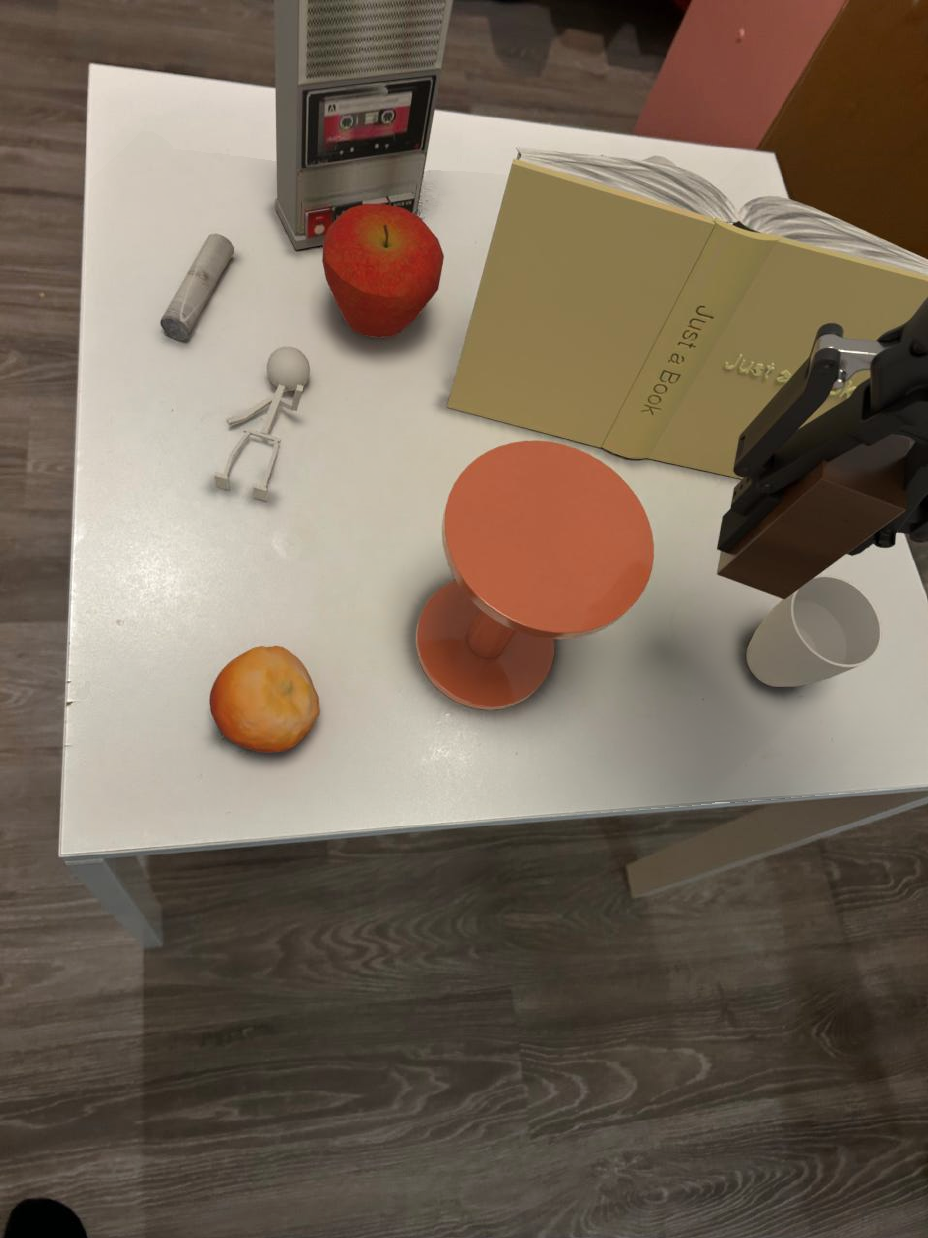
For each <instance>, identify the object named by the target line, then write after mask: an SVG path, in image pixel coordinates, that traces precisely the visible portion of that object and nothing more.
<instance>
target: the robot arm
mask: <svg viewBox="0 0 928 1238" xmlns="http://www.w3.org/2000/svg"><path fill="white" fill-rule="evenodd" d="M843 332H844V330H843V328H842V326H840V325H839V324H836V323H827V324H824V325H823V326H821V327H820V328H819V329H818V331H817V334H816V337H815V340H814V343H813V346H812V349H811V352H810V356H809V357H808V359H807V360H806V361H805V362H804V363H803V364H802V365H801V367H800V368H799V369H798V370H797V371H796V372H795V373H794V375H793V376H792V377H791V378H790V379H789V380H788V381H787V382H786V384H785V385H784V386H783V387H782V388H781V389H780V390H779V392H778V393H777V394H776V395H775V396H774V397H773V398H772V399H771V401H770V402H769V403H768V404H767V405H766V406H765V407H764V409H763V410H762V411H761V412H760V413H759V414H758V415H757V416H756V418H755V419H754V420H753V421H752V422H751V423H750V424H749V426H748V427H747V428H746V429H745V430H744V431H743V432H742V433H741V435H740V436H739V440H738V445H737V451H736V456H735V462H734V467H733V472H734V473H735V475H737V476H739V477H744V478H743V479H740V480H739V482H738V483H737V484H736V485H735V486H734V487H733V491H732V496H731V500H730V501H731V502H730V507H729V509H728V510H727V511H726V512H725V513H724V514H723V515H722V520H721V524H720V529H719V535H718V540H717V546H716V550H717V551H720V552H721V551H723V552H725V553H728V552H729V551H730V550H731V549H732V548H733V547H734V546H735V545H736V544H737V543H738V542H739V541H740V540H742V539H743V538H744V537H745V536H746V535H747V534H748V533H749V532H750V531H751V530H752V529H753V528H754V527H755V526H756V525H758V524H759V523H760V522H761V521H762V520H763V519H764V518H765V517H766V516H767V515H768V514H769V513H770V512H771V511H772V510H773V509H775V508H776V507H777V506H778V505H779V504H780V503H781V496H782V489H783V487H785V486H787V485H788V484H790V483H792V482H794V481H796V480H797V479H799V478H801V477H803V476H805V475H806V474H808V473H810V472H812V471H813V470H814V469H815V468H816V467H817V466H818V465H819V464H820V463H822V462H823V461H828V462H830V461H831V460H833V459H835V458H837V457H839V456H840V455H842V454H844V453H846V452H848V451H849V450H851V449H853V448H855V447H857V446H858V445H860V444H862V443H863V444H865V445H866V446H871V445H873V444H875V443H877V442H878V441H880V440H882V439H884V438H886V437H888V436H889V435H891V434H896V435H900V436H902V437H906V438H909V439H910V440H912V441H914V442H913V444H912V445H911V446H910V450H909V451H908V453H907V454H906V456H905V471H904V486H903V490H905V491H907V502H906V510H905V511H904V512H903V513H902V514H900V515H899V516H897V517H896V518H895V519H893V520H892V521H891V522H889V523H888V524H887V525H885V526H884V527H882V528H881V529H880V530H878V531H877V532H876V533H874V534H873V535H872V536H870V537H869V538H868V539H866V540H865V541H863V542H862V543H861V544H859V545H858V546H857V547H855V548H854V549H853V550H851V551H850V552H849V553H847V554H846V555H848V556H850V557H853V556H857V555H860V554H862V553H863V552H865V550H867V549H868V548H870V547H871V546H872V545H874V547H877V548H881V549H889V548H892V547H894V546H896V543H897V541H896V540H897V534H906V535H909V536H908V538H909V540H910V541H912V542H914V543H921V544H922V543H923V544H924V543H927V542H928V297H927V298H926V299H925V301H924V302H923V303H922V304H921V306H920V307H919V309H918V310H917V311H916V313H915V314H914V315H913V316H912V318H911V319H910V320H908V321H907V322H906V323H904V324H902V325H901V326H899V327H897V328H894V329H892V330H890V331H887V332H886V333H884V334H883V335H881V336H880V337H879V338H878V339H877V340H876V341H871V340H861V339H851V338H843ZM862 370H870V378H868V379H867V380H865V381H864V382H862V383H861V384H859V385H858V386H857V387H856V388H855V389H854V391H853V393H852V395H851V396H850V397H849V398H847V399H846V400H844V401H842V402H841V403H839V404H838V405H836V406H834V407H833V408H831V409H830V410H828V411H826V412H825V413H823V414H822V415H820V416H818V417H817V418H815V419H814V420H812V421H811V422H809V423H807V424H806V425H804V426H803V427H801V426H802V425H803V424H804V423H805V422H806V421H807V420H808V419H809V418H810V417H811V415H812V414H813V413H814V412H815V411H816V410H817V409H818V408H819V407H820V406H821V405H822V404H823V403H824V402H825V400H826V399H827V397H828V396H829V394H830V392H831V390H832V388H833V389H841V388H843V387H844V385H845V382H846V381H848V380H849V379H850V378H851V377H852V376H853V375H854V374H855V373H857V372H859V371H862ZM800 427H801V428H800Z"/></svg>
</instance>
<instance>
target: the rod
mask: <svg viewBox="0 0 928 1238" xmlns="http://www.w3.org/2000/svg"><path fill="white" fill-rule="evenodd" d="M234 253H235V246H234V245H233V243H232V242H231V240H230V239H228V238H227V237H225V236H224V235H222V234H220V233H210V234H208V236H207V237H206V239H205V241H204V242H203V244H202V246H201V248H200V249H199V251H198V253H197V255H196V257H195V258H194V260H193V263H192V264H191V266H190V268H189V270H188V271H187V273H186V275H185V276H184V278H183V280H182V281H181V284H180V286H179V288H178V289H177V291H176V293H175V294H174V296H173V298H172V300H171V301H170V303H169V304H168V306H167V309H166V310H165V312H164V313H163V315H162V317H161V319H160V322H159V323H160V326H161V328H162V330H163V331H164V334H166V335H167V336H169V337H170V338H171V339H173V340H175V341H184V340H186V339H187V338H188V337H189V335H190V333H191V331H192V330H193V328H194V326H195V324H196V322H197V320H198V318H199V316H200V314H201V313H202V311H203V308H204V307H205V306H206V304H207V302H208V300H209V297H210V296H211V295H212V292H213V291H214V289H215V287H216V285H217V283H218V281H219V280H220V278H221V277H222V275H223V272H224V271H225V269H226V267H227V266H228V264H229V262H230V260H231V259H232V257H233V255H234Z"/></svg>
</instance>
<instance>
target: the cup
mask: <svg viewBox="0 0 928 1238" xmlns="http://www.w3.org/2000/svg"><path fill="white" fill-rule="evenodd" d="M882 627H883V625H882V622H881V619H880V614H879V613H878V610H877V608H876V607H875V605H874V603H873V601H871V599H870V598H869V597H868V596H867V594H866V593H865V592H864V591H862V590H861V589H860V588H859V587H858V586H857V585H855V584H853V583H852V582H850V581H849V580H846V579H844V578H842V577H839V576H837V575H830V574H819V575H817V576H816V577H815V578H813V579H812V580H811V581H809V582H808V583H806V584H805V585H804V586H802V587H801V588H800V589H798V590H797V591H796V592H794V593H793V594H792V595H790V596H789V597H787V598H786V599H781V600H780V601H779V602H778V603H777V604H776V605H775V606H774V607H773V608H772V609H771V610H770V612H769V613H768V614H767V615H766V617H765V618H764V619H763V620H762V622H761V623H760V624H759V625H758V626H757V628H756V629H755V631H754V633H753V636H752V637H751V639H750V642H749V644H748V646H747V648H746V653H745V657H746V663H747V666H748V668H749V670H750V672H751V673H752V674H753V676H754V677H755V678H756V679H757V680H758V681H759V682H761V683H763V684H765V685H766V686H769V687H776V688H782V687H784V688H785V687H800V686H805V685H809V684H813V683H817V682H820V681H821V682H822V681H825V680H828V679H832V678H834V677H836V676H839V675H840V674H843V673H846V672H849V671H851V670H853V669H855V668H857V667H861V666H863V665H865V664H867V663H869V662H870V661H871V660H872V659H873V658H874V657H875V656H876V655H877V653H878V652H879V650H880V647H881V645H882V641H883V628H882Z"/></svg>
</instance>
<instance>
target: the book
mask: <svg viewBox="0 0 928 1238" xmlns="http://www.w3.org/2000/svg"><path fill="white" fill-rule="evenodd" d="M515 150H516V151H517V155H516V158H514V157H512V162H511V166H510V170H509V173H508V177H507V181H506V184H505V188H504V192H503V196H502V200H501V204H500V207H499V210H498V214H497V218H496V222H495V225H494V229H493V233H492V237H491V241H490V244H489V248H488V252H487V256H486V259H485V263H484V266H483V271H482V274H481V278H480V281H479V285H478V289H477V293H476V296H475V301H474V304H473V307H472V312H471V316H470V318H469V322H468V327H467V330H466V334H465V337H464V342H463V345H462V349H461V352H460V356H459V359H458V363H457V367H456V371H455V375H454V379H453V383H452V386H451V391H450V394H449V398H448V401H447V406H446V408H449V409H452V410H457V411H461V412H464V413H468V414H471V415H476V416H479V417H483V418H487V419H490V420H494V421H499V422H501V423H505V424H509V425H513V426H517V427H521V428H525V429H528V430H532V431H537V432H539V433H543V434H548V435H551V436H555V437H559V438H563V439H566V440H570V441H574V442H578V443H582V444H585V445H590V446H592V447H596V448H603V449H604V450H606V451H608V452H610V453H612V454H615V455H618V456H621V457H624V458H628V459H634V460H640V459H642V460H643V459H649V460H653V461H658V462H662V463H668V464H672V465H677V466H681V467H685V468H690V469H695V470H699V471H704V472H709V473H712V474H717V475H722V476H726V477H730V478H731V477H732V478H735V479H740V480H742V479H743V478H744V477H739V476H737V475H735V473H734V472H733V467H734V462H735V456H736V451H737V445H738V440H739V436H740V435H741V433H742V432H743V431H744V430H745V429H746V428H747V427H748V426H749V424H750V423H751V422H752V421H753V420H754V419H755V418H756V416H757V415H758V414H759V413H760V412H761V411H762V410H763V409H764V407H765V406H766V405H767V404H768V403H769V402H770V401H771V399H772V398H773V397H774V396H775V395H776V394H777V393H778V392H779V390H780V389H781V388H782V387H783V386H784V385H785V384H786V382H787V381H788V380H789V379H790V378H791V377H792V376H793V375H794V373H795V372H796V371H797V370H798V369H799V368H800V367H801V365H802V364H803V363H804V362H805V361H806V360H807V359H808V357H809V356H810V352H811V349H812V346H813V343H814V340H815V337H816V334H817V331H818V329H819V328H820V327H821V326H823V325H824V324H827V323H836V324H839V325H840V326H842V328H843V330H844V332H843V338H851V339H861V340H871V341H876V340H877V339H878V338H879V337H880V336H881V335H883V334H884V333H886V332H887V331H890V330H892V329H894V328H897V327H899V326H901V325H902V324H904V323H906V322H907V321H908V320H910V319H911V318H912V316H913V315H914V314H915V313H916V311H917V310H918V309H919V307H920V306H921V304H922V303H923V302H924V301H925V299H926V298H927V297H928V259H927V258H926V257H923V256H921V255H919V254H916V253H915V252H912V251H909V250H908V249H905V248H904V247H900V246H899V245H897V244H895V243H892V242H890V241H888V240H886V239H884V238H881V237H879V236H877V235H875V234H873V233H870V232H868V231H867V230H864V229H861V228H860V227H857V226H855V225H853V224H851V223H849V222H847V221H844V220H842V219H840V218H838V217H835V216H833V215H831V214H829V213H827V212H825V211H822V210H820V209H817V208H815V207H813V206H811V205H808V204H805V203H801V202H800V201H796V200H793V199H791V198H787V197H783V196H779V195H778V196H777V195H776V196H774V195H766V196H765V195H763V196H759V197H756V198H752V199H751V200H749V201H747V202H746V203H744V204H743V205H742V206H741V207H740V209H739V211H738V210H737V208H736V206H735V205H734V204H733V203H732V202H731V200H730V199H729V198H728V197H727V196H726V195H725V193H723V192H722V191H721V190H720V189H719V188H717V186H715V185H714V184H712V183H711V182H710V181H708V180H707V179H705V178H704V177H702V176H701V175H699V174H697V173H695V172H694V171H693V172H692V171H691V170H688V169H685V168H682V167H680V166H677V165H676V166H677V167H676V166H671V165H667V164H662V163H657V162H651V161H643V160H644V159H642V160H641V159H634V158H626V157H625V158H624V157H617V156H607V155H604V156H601V155H596V154H586V153H578V152H577V153H576V152H566V151H557V150H549V149H548V150H547V149H540V148H539V149H538V148H529V147H521V146H516V147H515ZM606 156H607V157H606ZM868 378H870V370H862V371H859V372H857V373H855V374H854V375H853V376H852V377H851V378H850V379H849V380H848V381H846V382H845V385H844V387H843V388H841V389H833V388H832V390H831V392H830V394H829V396H828V397H827V399H826V400H825V402H824V403H823V404H822V405H821V406H820V407H819V408H818V409H817V410H816V411H815V412H814V413H813V414H812V415H811V417H810V418H809V419H808V420H807V421H806V422H805V423H804V424H803V425H802V426H801V427H803V426H804V425H806V424H807V423H809V422H811V421H812V420H814V419H815V418H817V417H818V416H820V415H822V414H823V413H825V412H826V411H828V410H830V409H831V408H833V407H834V406H836V405H838V404H839V403H841V402H842V401H844V400H846V399H847V398H849V397H850V396H851V395H852V393H853V391H854V389H855V388H856V387H857V386H858V385H859V384H861V383H862V382H864V381H865V380H867V379H868ZM801 427H800V428H801Z"/></svg>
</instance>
